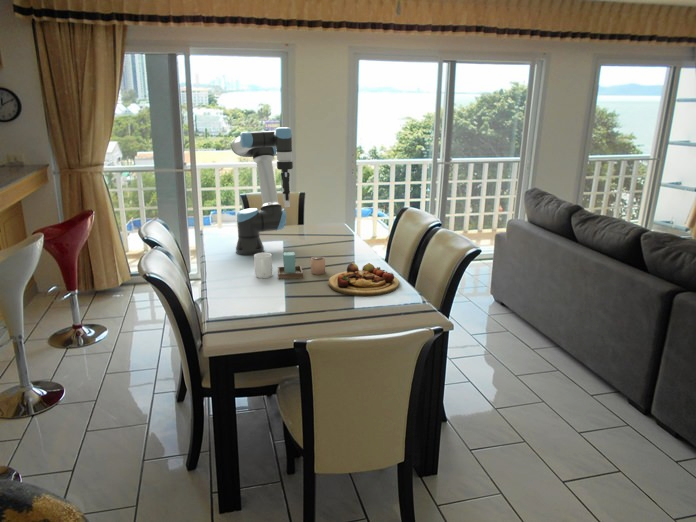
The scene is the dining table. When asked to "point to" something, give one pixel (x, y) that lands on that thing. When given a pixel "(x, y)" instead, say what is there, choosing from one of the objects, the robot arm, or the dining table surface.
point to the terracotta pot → (317, 265)
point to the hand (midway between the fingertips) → (286, 204)
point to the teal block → (289, 262)
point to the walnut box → (290, 275)
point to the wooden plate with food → (364, 281)
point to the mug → (263, 265)
